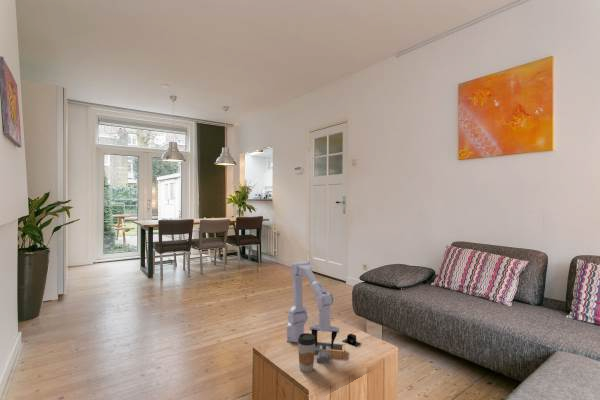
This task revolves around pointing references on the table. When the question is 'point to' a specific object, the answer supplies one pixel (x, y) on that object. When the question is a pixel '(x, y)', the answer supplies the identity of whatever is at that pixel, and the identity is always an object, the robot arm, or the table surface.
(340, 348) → the rail
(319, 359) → the gray square block
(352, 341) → the black boxy piece
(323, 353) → the metal block
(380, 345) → the table surface
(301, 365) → the coffee cup
